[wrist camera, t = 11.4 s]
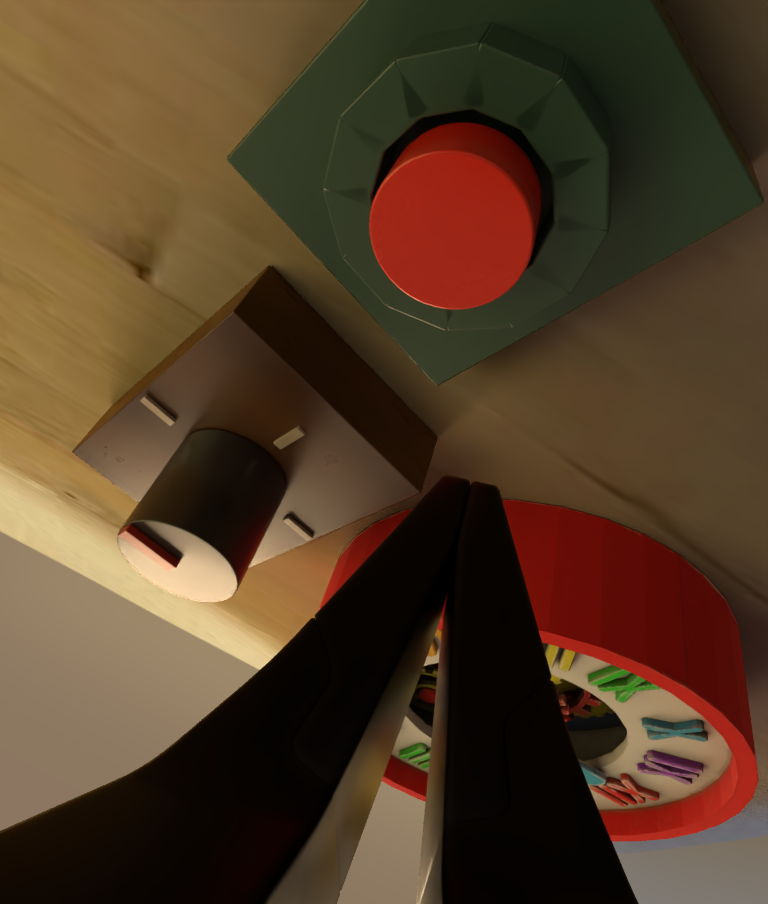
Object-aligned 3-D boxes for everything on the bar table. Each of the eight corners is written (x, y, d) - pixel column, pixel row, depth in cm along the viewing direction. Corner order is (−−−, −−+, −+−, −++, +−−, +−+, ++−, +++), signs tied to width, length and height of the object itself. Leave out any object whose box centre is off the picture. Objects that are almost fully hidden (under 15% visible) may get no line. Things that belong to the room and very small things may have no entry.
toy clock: (453, 542, 20) (883, 808, 25) (482, 421, 24) (846, 667, 29) (232, 705, 34) (530, 858, 38) (273, 610, 38) (540, 758, 42)
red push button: (477, 83, 14) (462, 109, 12) (573, 219, 15) (568, 255, 14) (358, 189, 16) (335, 220, 15) (451, 299, 17) (438, 336, 16)
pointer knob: (308, 489, 25) (259, 593, 22) (241, 522, 28) (188, 619, 24) (221, 411, 23) (154, 511, 20) (159, 455, 26) (90, 549, 23)
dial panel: (269, 264, 22) (230, 313, 20) (438, 438, 26) (420, 496, 23) (110, 407, 30) (69, 454, 27) (257, 527, 33) (231, 578, 31)
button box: (550, -200, 13) (530, -203, 10) (752, 167, 17) (778, 238, 14) (256, 131, 19) (194, 185, 16) (448, 348, 23) (424, 423, 20)
